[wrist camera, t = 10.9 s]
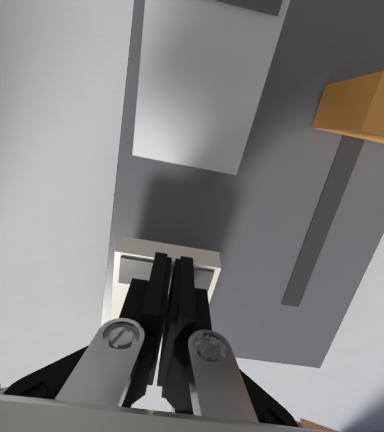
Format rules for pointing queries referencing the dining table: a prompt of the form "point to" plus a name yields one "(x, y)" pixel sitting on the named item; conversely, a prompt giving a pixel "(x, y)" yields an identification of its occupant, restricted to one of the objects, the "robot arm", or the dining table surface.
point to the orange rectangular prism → (353, 108)
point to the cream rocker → (143, 261)
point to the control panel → (272, 192)
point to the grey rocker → (203, 78)
